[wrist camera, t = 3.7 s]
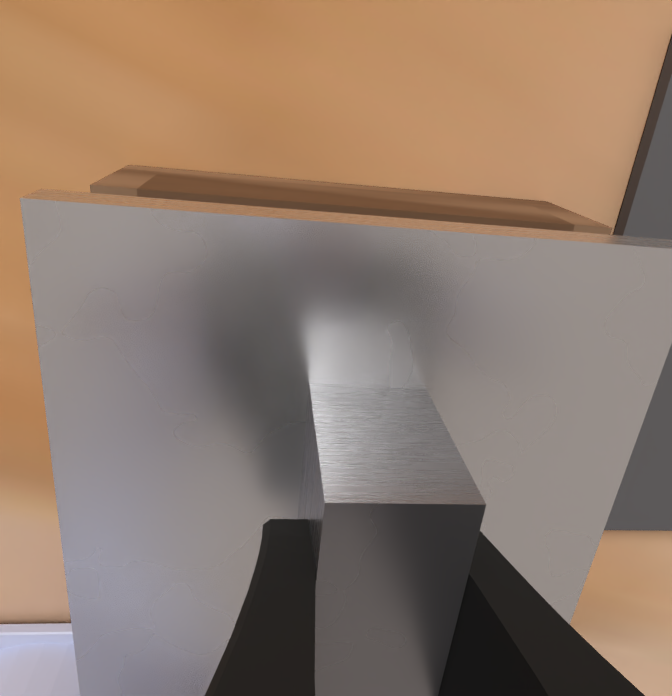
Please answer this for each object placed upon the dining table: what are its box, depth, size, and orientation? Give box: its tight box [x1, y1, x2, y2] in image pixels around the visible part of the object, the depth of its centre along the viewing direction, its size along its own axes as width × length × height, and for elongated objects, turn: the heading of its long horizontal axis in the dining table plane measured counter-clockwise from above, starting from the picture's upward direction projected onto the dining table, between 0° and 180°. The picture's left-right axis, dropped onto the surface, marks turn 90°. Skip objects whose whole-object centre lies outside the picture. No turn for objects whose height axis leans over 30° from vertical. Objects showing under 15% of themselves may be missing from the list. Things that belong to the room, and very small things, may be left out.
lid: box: [20, 189, 672, 696], centre depth 10 cm, size 10×10×5 cm
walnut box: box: [90, 165, 612, 235], centre depth 14 cm, size 10×10×3 cm
